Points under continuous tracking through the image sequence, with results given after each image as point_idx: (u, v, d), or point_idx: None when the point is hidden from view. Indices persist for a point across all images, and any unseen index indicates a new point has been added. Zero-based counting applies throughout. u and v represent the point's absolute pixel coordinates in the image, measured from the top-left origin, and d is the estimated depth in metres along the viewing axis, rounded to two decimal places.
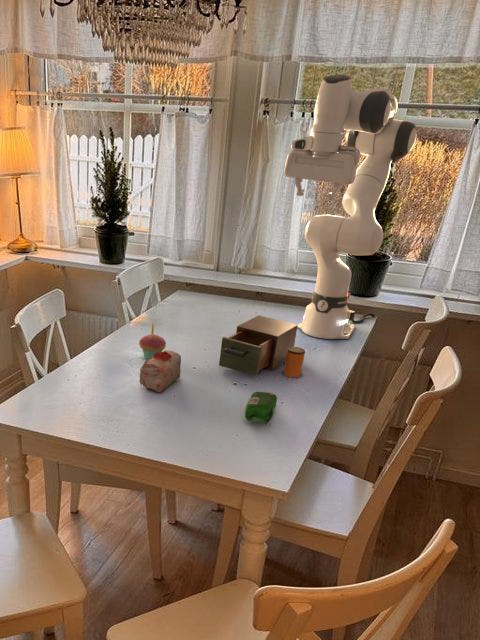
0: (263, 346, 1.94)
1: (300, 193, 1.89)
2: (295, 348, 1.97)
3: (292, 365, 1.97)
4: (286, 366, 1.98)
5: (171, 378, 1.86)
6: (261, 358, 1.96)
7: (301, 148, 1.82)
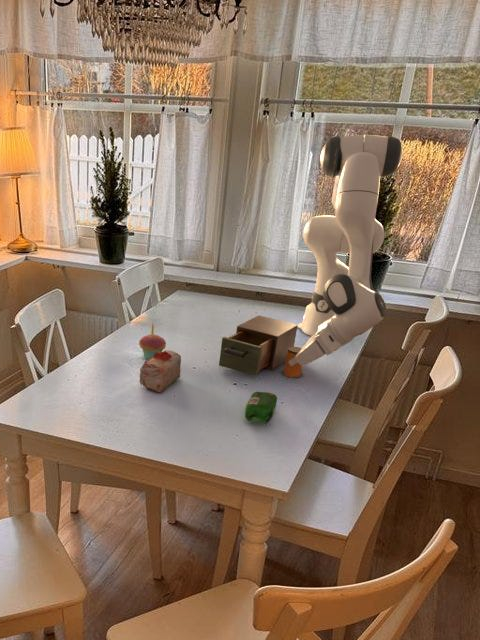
0: (263, 346, 1.94)
1: None
2: (295, 348, 1.97)
3: None
4: (286, 366, 1.98)
5: (171, 378, 1.86)
6: (261, 358, 1.96)
7: None
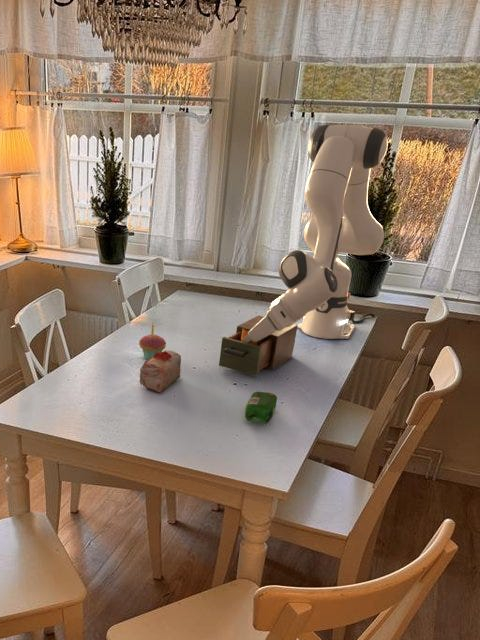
0: (263, 346, 1.94)
1: None
2: (250, 325, 1.97)
3: (247, 342, 1.96)
4: None
5: (171, 378, 1.86)
6: (261, 358, 1.96)
7: None
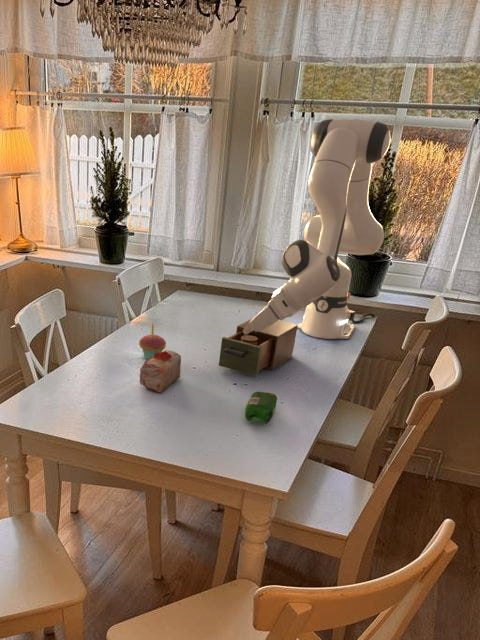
0: (263, 346, 1.94)
1: None
2: (248, 336, 1.98)
3: None
4: None
5: (171, 378, 1.86)
6: (261, 358, 1.96)
7: None
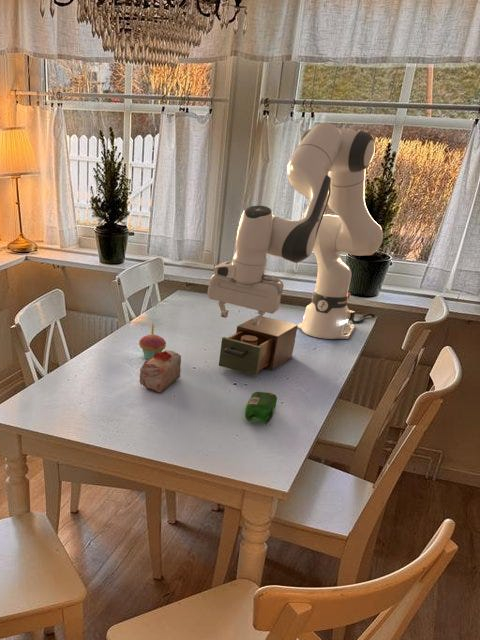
0: (263, 346, 1.94)
1: (224, 315, 1.84)
2: (248, 336, 1.98)
3: None
4: None
5: (171, 378, 1.86)
6: (261, 358, 1.96)
7: (224, 275, 1.76)
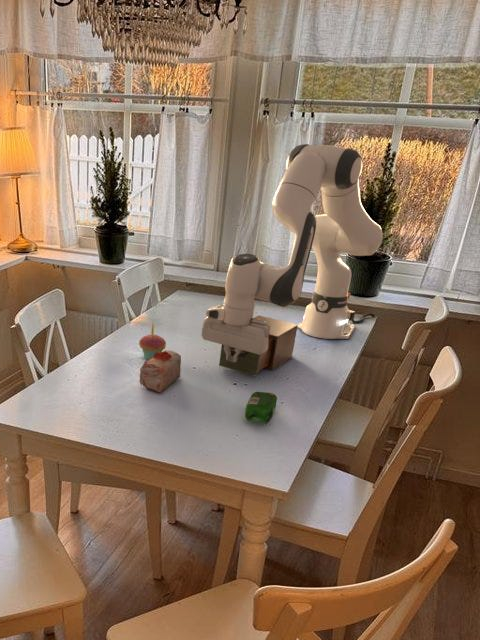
0: None
1: (229, 359, 1.92)
2: None
3: None
4: None
5: (171, 378, 1.86)
6: (262, 358, 1.97)
7: (215, 318, 1.86)
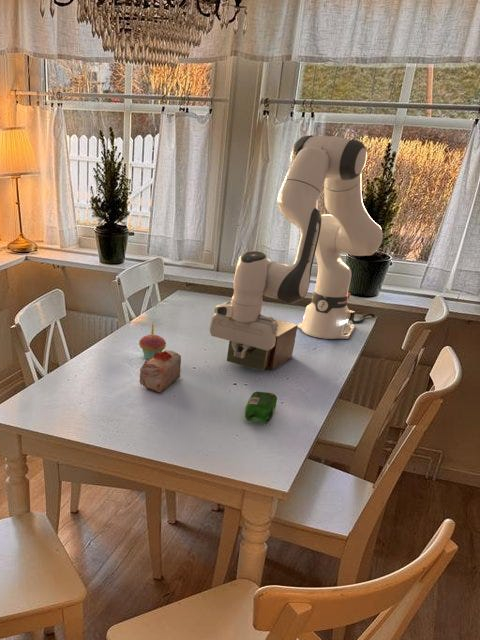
0: None
1: (237, 355, 1.95)
2: None
3: None
4: None
5: (171, 378, 1.86)
6: (269, 354, 2.00)
7: (223, 314, 1.90)
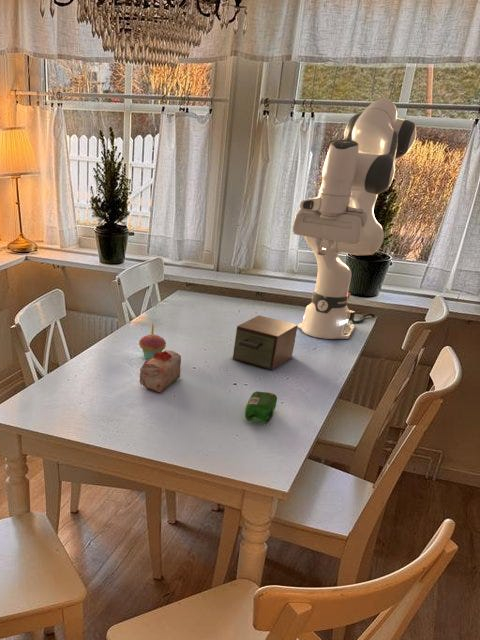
0: None
1: (321, 252, 1.91)
2: None
3: None
4: None
5: (171, 378, 1.86)
6: None
7: (309, 208, 1.86)
